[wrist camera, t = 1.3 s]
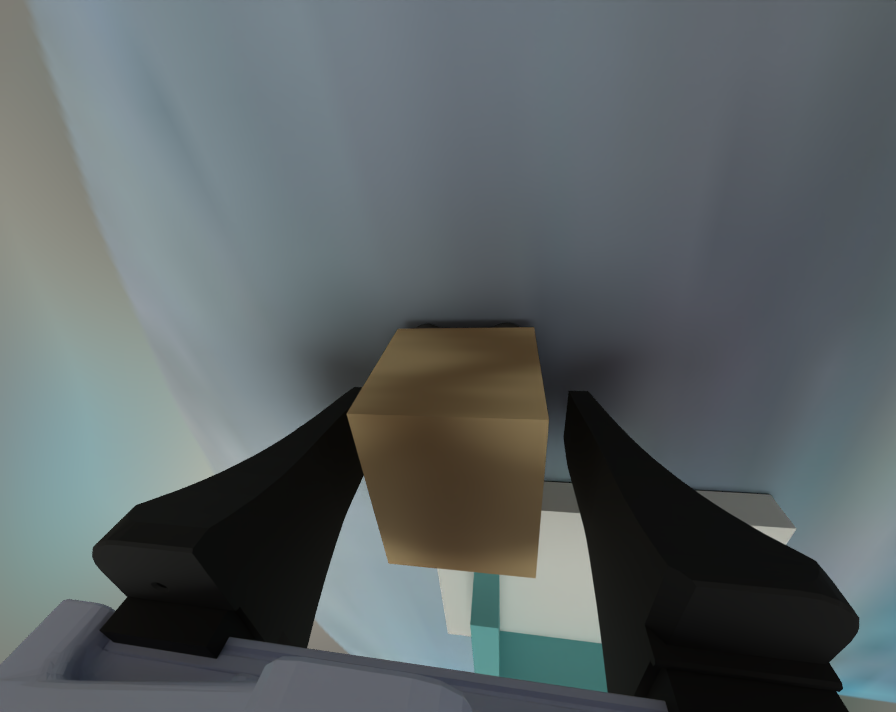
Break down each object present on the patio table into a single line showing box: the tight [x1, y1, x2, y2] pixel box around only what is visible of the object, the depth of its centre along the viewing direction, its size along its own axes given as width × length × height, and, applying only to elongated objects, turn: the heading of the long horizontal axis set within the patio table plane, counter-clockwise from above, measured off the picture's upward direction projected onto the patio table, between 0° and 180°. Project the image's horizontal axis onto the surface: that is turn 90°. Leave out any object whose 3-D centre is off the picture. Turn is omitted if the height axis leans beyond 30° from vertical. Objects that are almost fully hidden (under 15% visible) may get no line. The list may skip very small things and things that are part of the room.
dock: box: [437, 482, 796, 693], centre depth 17 cm, size 14×12×4 cm
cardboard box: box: [347, 323, 549, 578], centre depth 11 cm, size 4×6×5 cm
